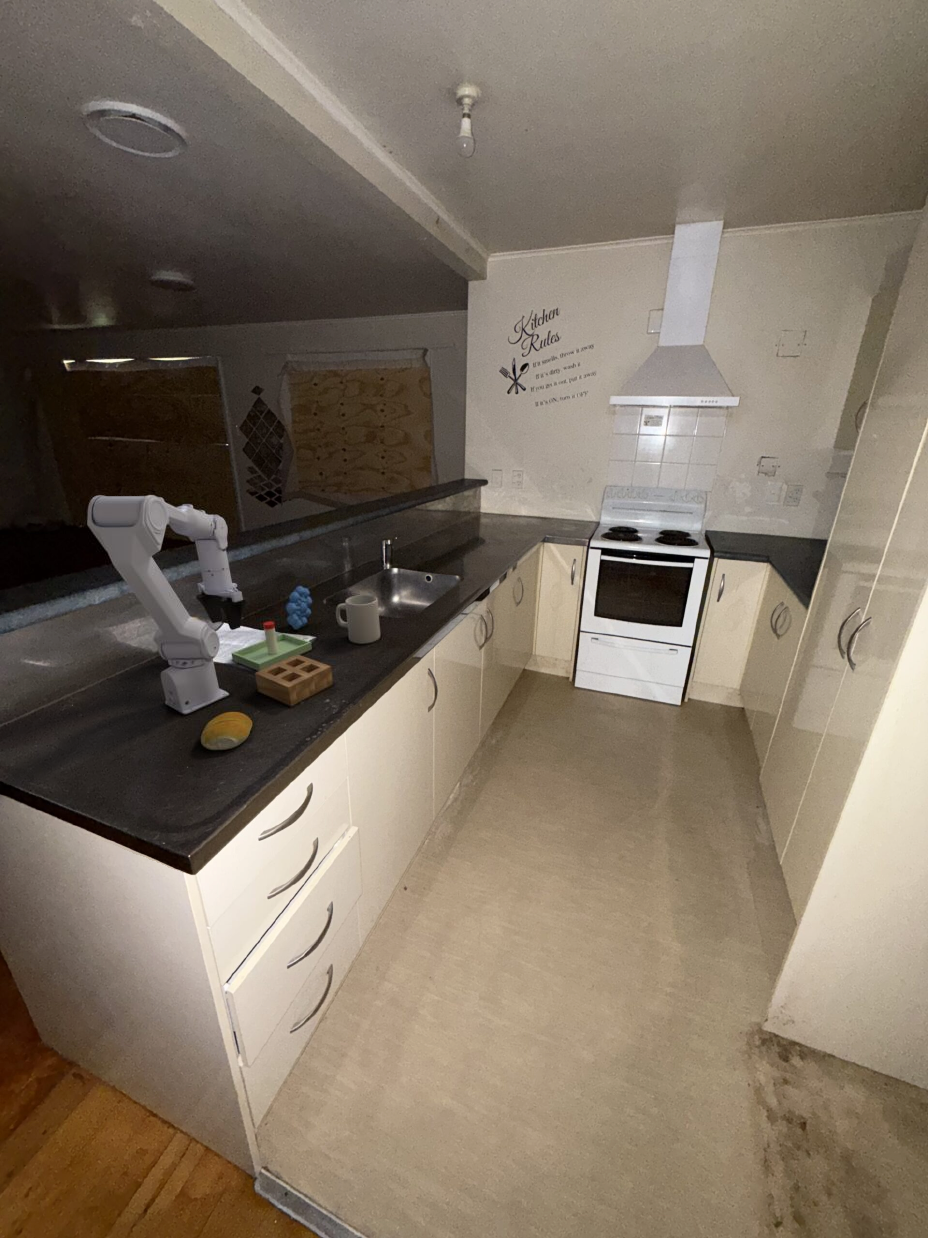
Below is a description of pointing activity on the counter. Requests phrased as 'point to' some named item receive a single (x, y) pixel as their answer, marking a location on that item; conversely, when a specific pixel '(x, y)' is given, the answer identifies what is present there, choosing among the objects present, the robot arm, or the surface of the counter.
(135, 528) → the robot arm
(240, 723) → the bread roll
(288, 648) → the tray
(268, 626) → the marker
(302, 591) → the grapes
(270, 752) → the counter surface
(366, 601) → the mug
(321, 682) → the pen holder
